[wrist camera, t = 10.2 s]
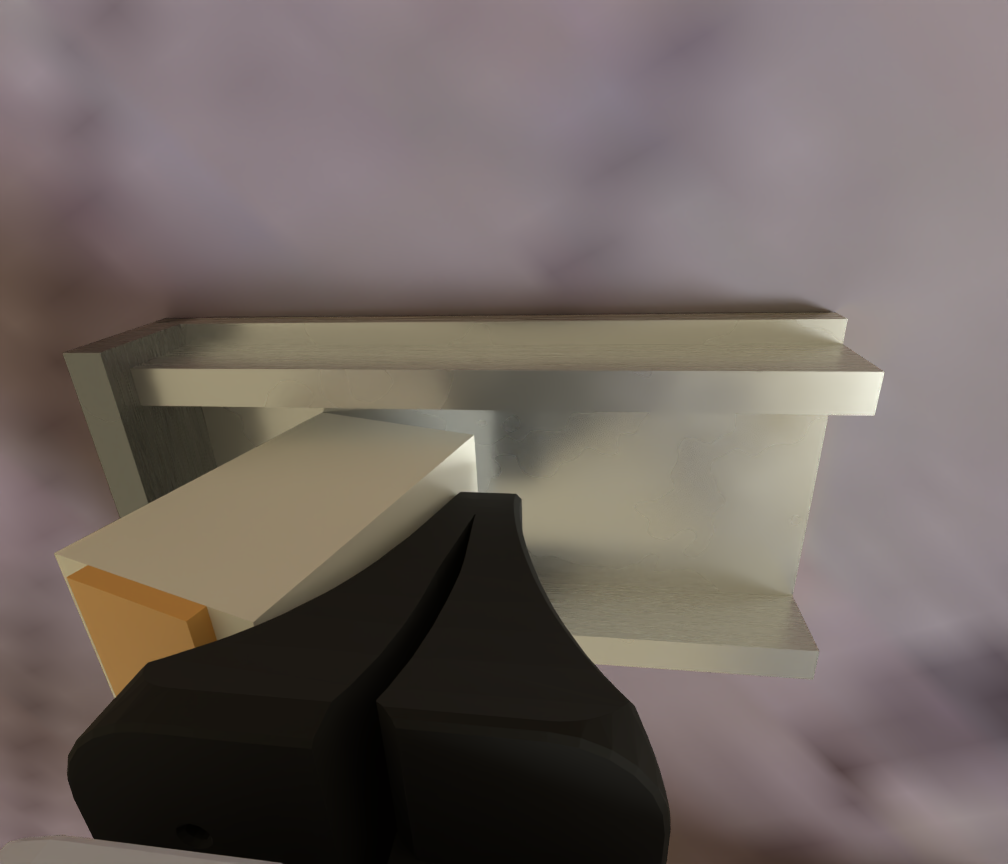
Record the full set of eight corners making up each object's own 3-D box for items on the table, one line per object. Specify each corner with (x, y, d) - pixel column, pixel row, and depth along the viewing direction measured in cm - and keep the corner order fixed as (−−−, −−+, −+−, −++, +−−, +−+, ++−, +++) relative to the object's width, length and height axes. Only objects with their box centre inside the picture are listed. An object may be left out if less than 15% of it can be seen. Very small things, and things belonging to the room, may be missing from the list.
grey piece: (835, 312, 12) (909, 353, 9) (776, 621, 15) (818, 719, 12) (165, 318, 14) (62, 352, 11) (238, 589, 17) (172, 667, 14)
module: (473, 434, 12) (233, 638, 7) (485, 603, 14) (299, 868, 9) (322, 412, 14) (31, 564, 8) (349, 566, 15) (123, 771, 10)
